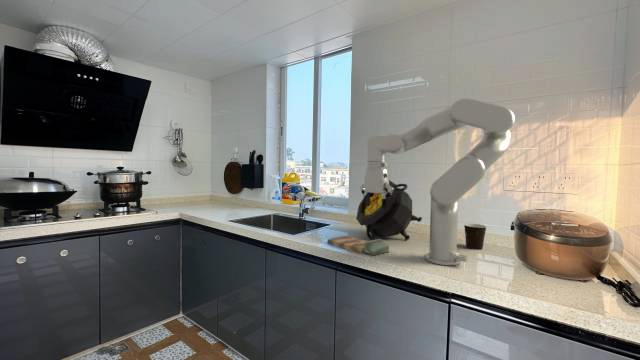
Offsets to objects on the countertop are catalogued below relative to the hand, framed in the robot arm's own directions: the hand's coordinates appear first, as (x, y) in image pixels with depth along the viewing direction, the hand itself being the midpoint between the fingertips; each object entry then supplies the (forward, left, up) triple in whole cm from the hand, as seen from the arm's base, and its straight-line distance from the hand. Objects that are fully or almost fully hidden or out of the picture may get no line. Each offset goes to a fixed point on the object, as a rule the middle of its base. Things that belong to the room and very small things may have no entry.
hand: (375, 207), depth 118 cm
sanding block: (-1, +1, -19) cm, 19 cm away
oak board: (+12, +1, -19) cm, 22 cm away
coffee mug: (-24, -38, -19) cm, 49 cm away
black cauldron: (+12, -24, -19) cm, 33 cm away
